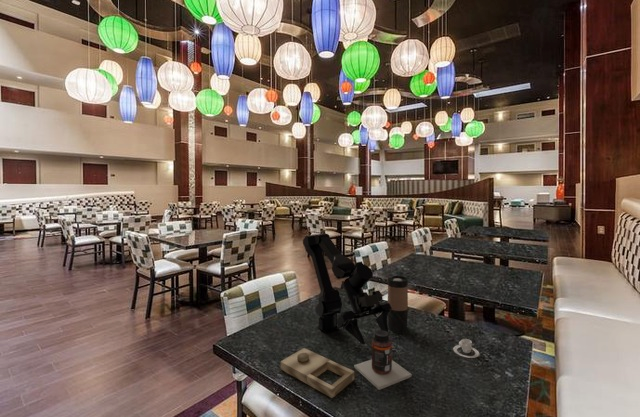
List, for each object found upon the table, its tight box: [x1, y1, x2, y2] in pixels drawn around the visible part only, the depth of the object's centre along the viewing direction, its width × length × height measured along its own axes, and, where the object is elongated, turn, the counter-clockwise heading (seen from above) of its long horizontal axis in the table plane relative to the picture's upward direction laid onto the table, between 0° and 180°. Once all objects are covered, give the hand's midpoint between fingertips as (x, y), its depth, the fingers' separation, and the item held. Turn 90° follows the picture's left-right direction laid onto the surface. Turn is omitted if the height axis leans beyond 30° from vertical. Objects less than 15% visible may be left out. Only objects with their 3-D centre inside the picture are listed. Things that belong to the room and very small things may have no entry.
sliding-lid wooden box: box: [280, 347, 355, 399], centre depth 92 cm, size 20×10×4 cm, turn 49°
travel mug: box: [387, 275, 409, 334], centre depth 120 cm, size 8×8×20 cm
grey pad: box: [354, 358, 412, 391], centre depth 93 cm, size 12×12×1 cm
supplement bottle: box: [371, 329, 393, 374], centre depth 92 cm, size 6×6×11 cm
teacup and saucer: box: [452, 338, 480, 359], centre depth 104 cm, size 9×8×4 cm
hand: (376, 340), depth 95 cm, fingers open, 9 cm apart
